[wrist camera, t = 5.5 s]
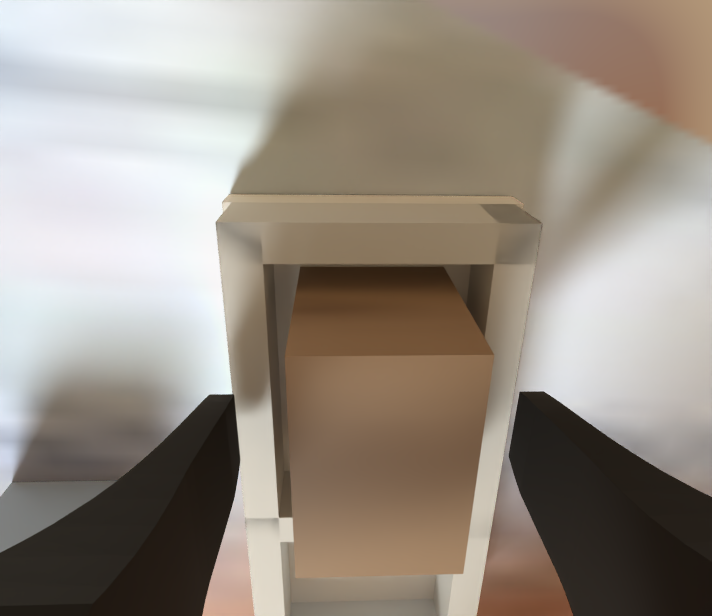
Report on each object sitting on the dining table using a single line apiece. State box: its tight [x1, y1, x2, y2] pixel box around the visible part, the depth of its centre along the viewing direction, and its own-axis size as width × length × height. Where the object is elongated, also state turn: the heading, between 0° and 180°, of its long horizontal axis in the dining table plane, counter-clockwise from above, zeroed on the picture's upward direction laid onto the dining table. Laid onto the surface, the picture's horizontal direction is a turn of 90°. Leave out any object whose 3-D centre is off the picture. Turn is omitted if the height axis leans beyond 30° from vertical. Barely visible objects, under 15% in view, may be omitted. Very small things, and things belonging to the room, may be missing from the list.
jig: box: [216, 194, 542, 616], centre depth 17 cm, size 16×8×3 cm, turn 179°
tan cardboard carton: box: [285, 267, 494, 578], centre depth 13 cm, size 6×4×5 cm, turn 179°
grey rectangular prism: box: [0, 480, 118, 552], centre depth 17 cm, size 4×4×6 cm
